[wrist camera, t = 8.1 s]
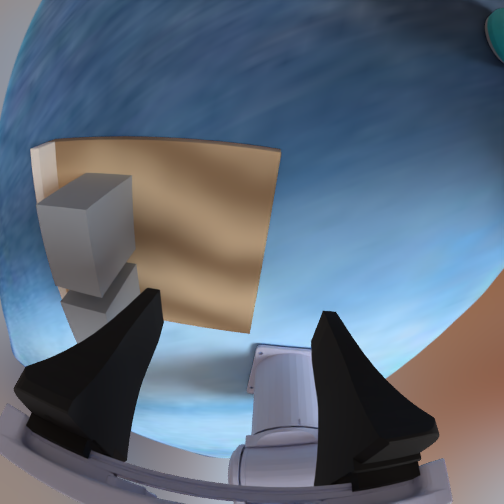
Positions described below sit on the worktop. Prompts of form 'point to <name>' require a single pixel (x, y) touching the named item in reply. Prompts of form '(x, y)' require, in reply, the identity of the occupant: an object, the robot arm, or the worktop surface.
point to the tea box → (88, 231)
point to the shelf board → (190, 218)
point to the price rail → (45, 176)
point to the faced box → (100, 303)
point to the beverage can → (496, 32)
